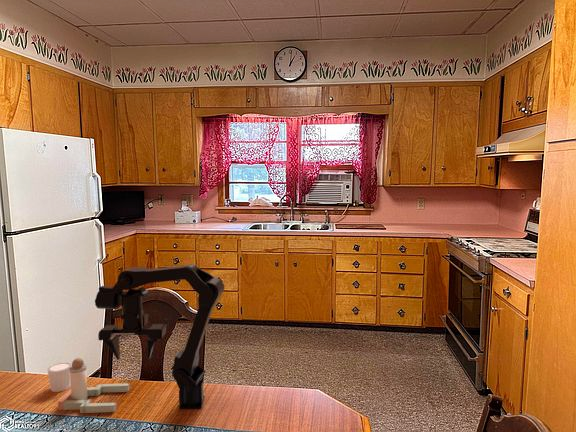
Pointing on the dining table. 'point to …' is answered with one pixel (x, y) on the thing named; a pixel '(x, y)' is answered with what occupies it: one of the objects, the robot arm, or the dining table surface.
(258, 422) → the dining table surface
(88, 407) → the rack
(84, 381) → the pepper mill
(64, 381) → the shot glass
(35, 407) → the dining table surface
